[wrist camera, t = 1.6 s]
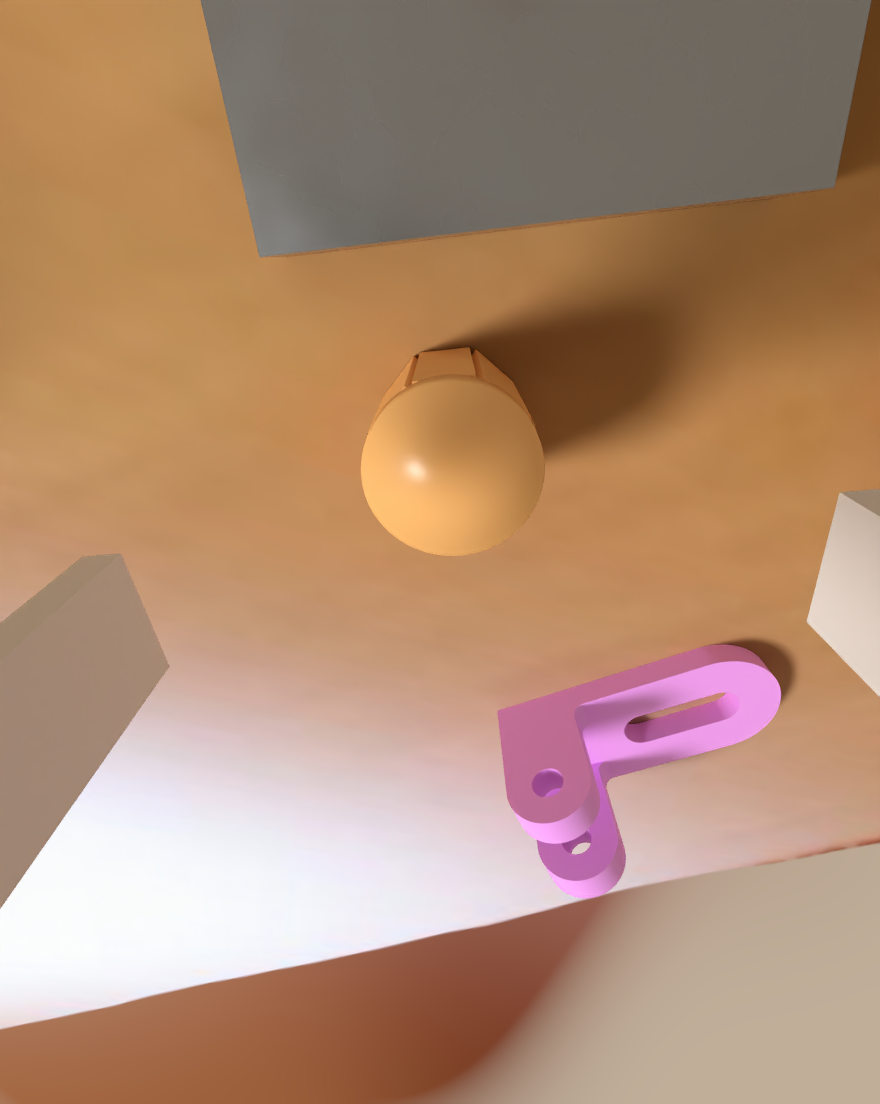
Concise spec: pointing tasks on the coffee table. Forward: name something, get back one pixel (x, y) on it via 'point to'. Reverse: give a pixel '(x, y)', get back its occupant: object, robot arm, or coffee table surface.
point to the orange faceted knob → (452, 455)
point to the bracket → (620, 749)
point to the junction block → (524, 110)
